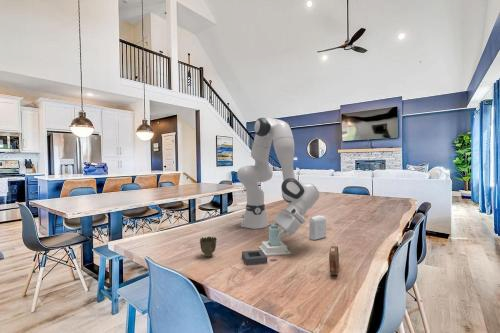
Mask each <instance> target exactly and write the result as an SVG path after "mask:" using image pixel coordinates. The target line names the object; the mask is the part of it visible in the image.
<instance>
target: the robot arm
mask: <svg viewBox="0 0 500 333" xmlns="http://www.w3.org/2000/svg"><path fill="white" fill-rule="evenodd" d="M253 130H254V134H255V135H254V139H253V143H252V145H251V146H252V147H251V151H250V156H251V158H252V159H253V160H254V165H245V166H241V167H239V169H237V172H236V177H237V179H238V181H239V182H240V183H241V184H242V185H243V186H244V189H245V193H246V194H245V195H246V204H245V211H244V213H243V214H241V220H240V227H241V228H247V229H254V230H255V229H256V230H257V229H265V228H267V227H268V226H269V227H270V225H271V224H270V222H268V212H267V211H265V209H266V208H265V207H266V205H265V193H264V191H263V189H261V188H260V186H259V183H265V182H268V181H271V179H272V178H273V174H274V173H273V172H274V171H273V170H272V167H271V166H270V165H269V156H270V152H271V148H272V144H273V149H274V152H275V155H276V157H277V160H278V162H279V165H280V168H281V173H282V179H283V181H282V183H281V195H282V196H281V197H282V199H283V200H284V201H285V202H286V203H288V205H287V206H285V208H284V209H281V210H280V211H279V212H278V213H277V214H276V215H275V216H274V217H273V220H272V221H273V222H274V223H273V224H272V225H277V226H278V227H280V228H282V230H281V231H280V233H278V234H277V235H276V236H277V237H278V238H279V239H281V238H282V237H284V236H285V235H287V234H289V235H293V234H294V233H296V232H297V231H298V229H299V228H301V226H302V225H303V224H305V223H306V221H307V220H306V218H305V215H306V214H307V212H308V211H309V210H310V209H312V208H313V206H314V205H315V204H316V203H317V201H318V200H319V198H320V192H319V190H318V187H316V186H315V185H314V184H312V183H307V182H302V181H301V180H298V179H296V177H295V170H294V160H295V149H296V147H295V140H294V135H293V131H292V126H291V123H290V122H288V121H286V120H282V119H276V118H270V117H269V118H266V117H259V118H257V119H256V121H255V122H254V127H253Z"/></svg>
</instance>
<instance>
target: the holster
mask: <svg viewBox="0 0 500 333" xmlns="http://www.w3.org/2000/svg"><path fill="white" fill-rule="evenodd" d="M241 258H242V260H243V261H244V264H245V266H253V265H262V264H268V256H266V255H265V254H264V252H263V251H262V250H261V249H255V250H254V249H253V250H243V251H242V252H241Z"/></svg>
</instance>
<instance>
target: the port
mask: <svg viewBox="0 0 500 333" xmlns="http://www.w3.org/2000/svg"><path fill="white" fill-rule="evenodd" d="M258 248H259V250H262V251H263V252H264V254H265V255H266V256H267V257H271V256H280V255H291V254H292V253H291V251H290V250H289V249H288V246H287V245H286V244H285V243H284V242H283V241H282V240H280V246H271V247H270V246H269V240H266V241H261V245H258Z"/></svg>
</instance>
